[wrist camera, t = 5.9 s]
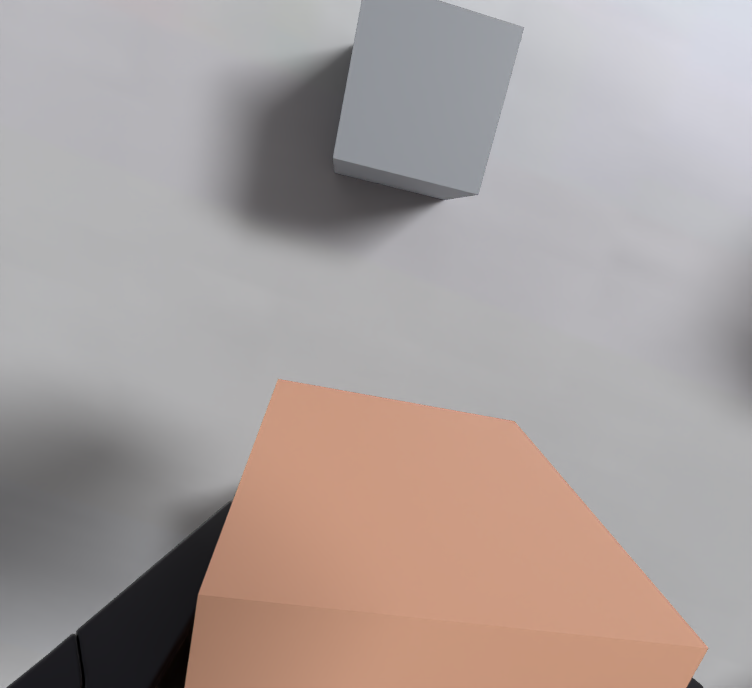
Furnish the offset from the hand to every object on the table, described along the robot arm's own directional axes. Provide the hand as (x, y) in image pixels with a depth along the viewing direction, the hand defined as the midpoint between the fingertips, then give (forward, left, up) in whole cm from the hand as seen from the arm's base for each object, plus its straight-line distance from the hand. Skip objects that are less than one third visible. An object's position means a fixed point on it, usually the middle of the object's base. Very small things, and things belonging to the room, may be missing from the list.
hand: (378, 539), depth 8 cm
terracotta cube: (0, 0, -1) cm, 1 cm away
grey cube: (+10, 0, -13) cm, 16 cm away
